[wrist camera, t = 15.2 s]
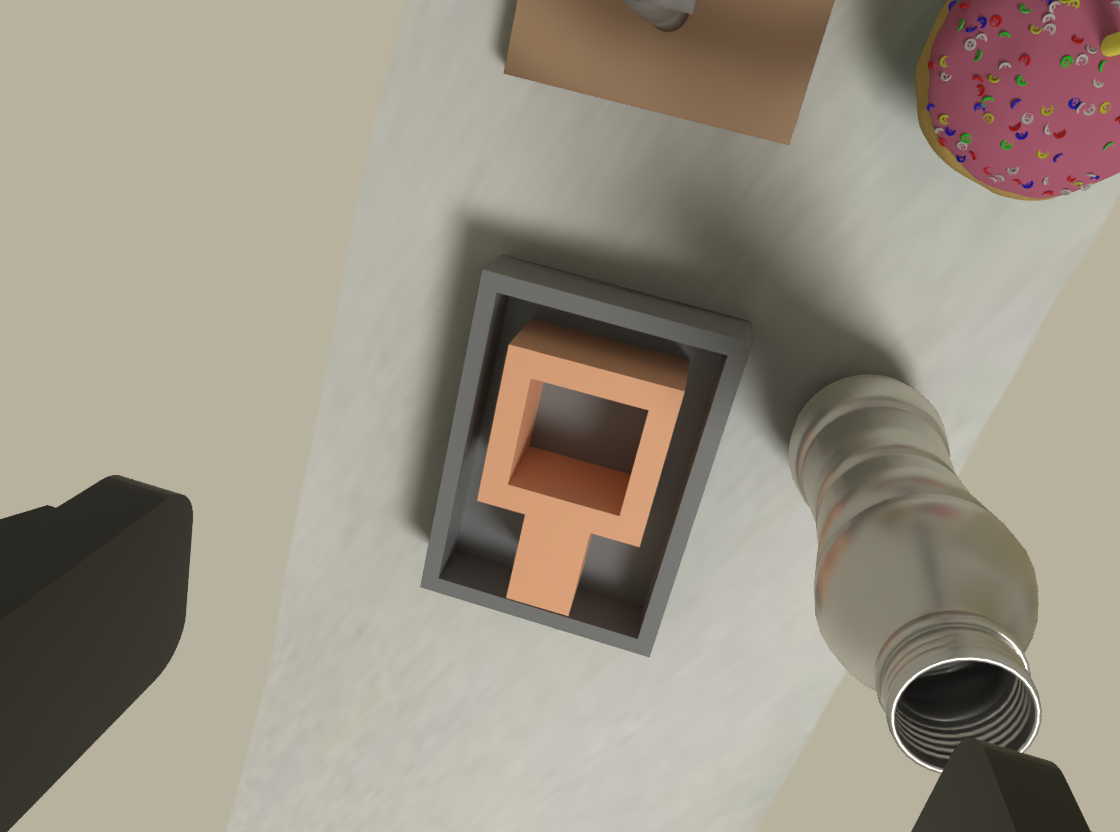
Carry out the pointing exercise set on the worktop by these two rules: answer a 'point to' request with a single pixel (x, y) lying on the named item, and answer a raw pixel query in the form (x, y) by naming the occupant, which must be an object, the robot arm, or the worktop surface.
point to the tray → (583, 448)
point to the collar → (566, 483)
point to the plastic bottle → (915, 572)
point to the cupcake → (1024, 93)
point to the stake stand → (678, 56)
